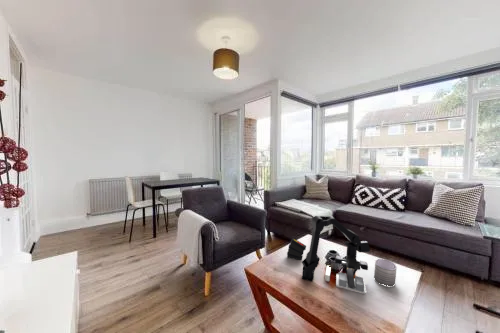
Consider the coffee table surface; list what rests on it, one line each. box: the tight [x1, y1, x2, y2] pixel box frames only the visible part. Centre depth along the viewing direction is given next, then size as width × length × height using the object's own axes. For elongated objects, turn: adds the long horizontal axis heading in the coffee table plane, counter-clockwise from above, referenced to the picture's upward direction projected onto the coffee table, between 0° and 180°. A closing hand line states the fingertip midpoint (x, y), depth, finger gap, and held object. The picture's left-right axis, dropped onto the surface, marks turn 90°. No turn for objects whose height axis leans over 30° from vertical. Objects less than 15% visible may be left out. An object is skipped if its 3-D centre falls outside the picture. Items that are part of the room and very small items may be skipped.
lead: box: [346, 267, 355, 288], centre depth 126 cm, size 17×4×4 cm, turn 157°
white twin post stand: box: [335, 271, 368, 295], centre depth 124 cm, size 16×12×5 cm
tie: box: [324, 265, 332, 282], centre depth 132 cm, size 12×2×4 cm, turn 155°
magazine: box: [286, 237, 307, 261], centre depth 152 cm, size 4×13×15 cm, turn 73°
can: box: [373, 258, 398, 286], centre depth 128 cm, size 11×11×12 cm
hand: (349, 275), depth 131 cm, fingers closed on lead, 4 cm apart
